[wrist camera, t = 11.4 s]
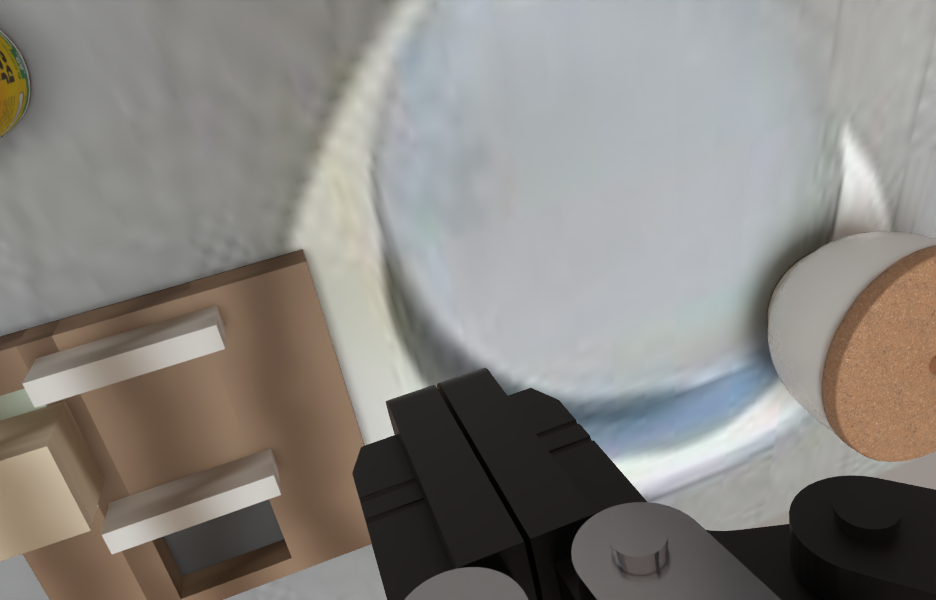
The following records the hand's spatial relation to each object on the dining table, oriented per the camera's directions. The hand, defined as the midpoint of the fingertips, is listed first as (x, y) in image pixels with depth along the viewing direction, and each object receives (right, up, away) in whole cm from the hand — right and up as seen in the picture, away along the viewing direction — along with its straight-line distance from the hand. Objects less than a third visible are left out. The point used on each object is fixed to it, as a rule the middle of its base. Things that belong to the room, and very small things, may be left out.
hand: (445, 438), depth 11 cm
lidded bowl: (+23, +2, +37) cm, 44 cm away
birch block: (-20, -5, +24) cm, 31 cm away
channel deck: (-14, -6, +28) cm, 32 cm away
